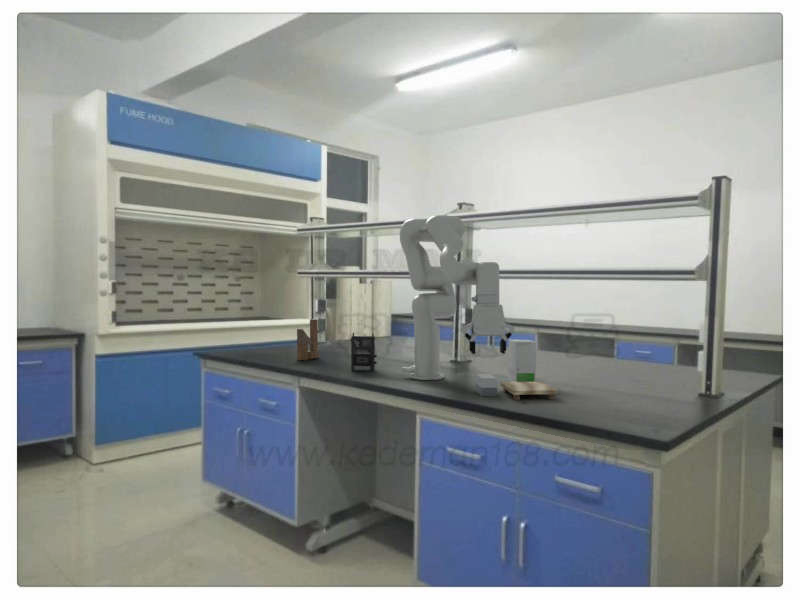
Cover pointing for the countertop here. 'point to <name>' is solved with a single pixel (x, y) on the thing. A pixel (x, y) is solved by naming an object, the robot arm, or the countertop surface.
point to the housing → (486, 384)
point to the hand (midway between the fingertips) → (487, 353)
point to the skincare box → (521, 361)
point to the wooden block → (308, 342)
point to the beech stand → (528, 389)
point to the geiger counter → (363, 353)
